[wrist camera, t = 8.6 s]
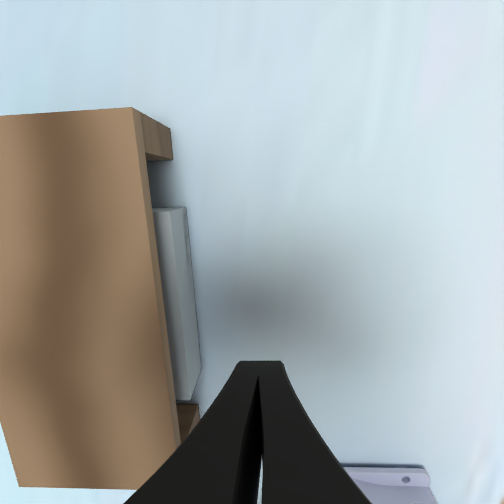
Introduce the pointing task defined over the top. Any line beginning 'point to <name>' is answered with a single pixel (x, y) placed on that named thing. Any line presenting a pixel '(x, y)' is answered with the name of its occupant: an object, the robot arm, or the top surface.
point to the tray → (178, 297)
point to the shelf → (84, 302)
